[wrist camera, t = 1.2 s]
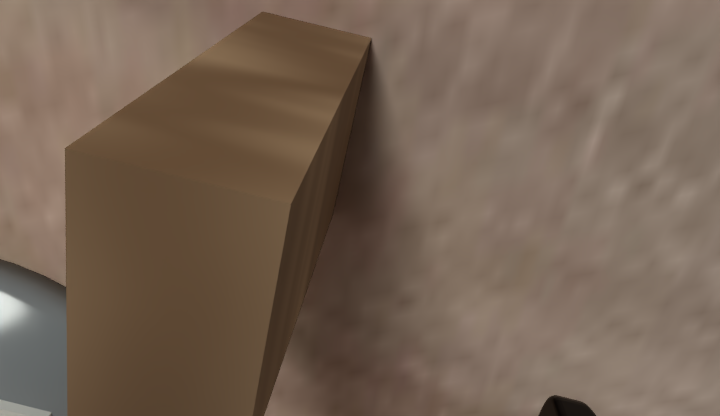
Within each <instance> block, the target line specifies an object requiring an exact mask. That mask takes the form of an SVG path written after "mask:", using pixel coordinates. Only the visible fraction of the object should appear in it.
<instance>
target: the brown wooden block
mask: <svg viewBox="0 0 720 416" xmlns="http://www.w3.org/2000/svg"><path fill="white" fill-rule="evenodd" d="M370 42H371V38H369V37H365V36H360V35H356V34H352V33H348V32H344V31H340V30H336V29H332V28H328V27H323V26H319V25H315V24H311V23H307V22H303V21H299V20H295V19H291V18H286V17H282V16H278V15H274V14H270V13H266V12H261V13H260V14H259V15H257V16H256V17H254V18H253V19H251V20H250V21H248V22H247V23H246V24H244V25H243V26H241V27H240V28H238V29H237V30H235V31H234V32H232V33H231V34H230V35H228V36H227V37H225V38H224V39H222V40H221V41H219V42H218V43H217V44H215V45H214V46H212V47H211V48H209V49H208V50H206V51H205V52H204V53H202V54H201V55H199V56H198V57H196V58H195V59H193V60H192V61H191V62H189V63H188V64H186V65H185V66H183V67H182V68H180V69H179V70H178V71H176V72H175V73H173V74H172V75H170V76H169V77H167V78H166V79H165V80H163V81H162V82H160V83H159V84H157V85H156V86H154V87H153V88H151V89H150V90H149V91H147V92H146V93H144V94H143V95H141V96H140V97H138V98H137V99H136V100H134V101H133V102H131V103H130V104H128V105H127V106H125V107H124V108H123V109H121V110H120V111H118V112H117V113H115V114H114V115H112V116H111V117H110V118H108V119H107V120H105V121H104V122H102V123H101V124H99V125H98V126H97V127H95V128H94V129H92V130H91V131H89V132H88V133H86V134H85V135H84V136H82V137H81V138H79V139H78V140H76V141H75V142H73V143H72V144H71V145H69V146H68V147H66V148H65V198H66V317H67V416H264V414H265V411H266V408H267V405H268V402H269V399H270V396H271V393H272V390H273V388H274V385H275V382H276V379H277V376H278V373H279V370H280V367H281V364H282V361H283V358H284V355H285V352H286V350H287V347H288V344H289V341H290V338H291V335H292V332H293V329H294V326H295V323H296V320H297V317H298V315H299V312H300V309H301V306H302V303H303V300H304V297H305V294H306V291H307V288H308V285H309V282H310V279H311V277H312V274H313V271H314V268H315V265H316V262H317V259H318V256H319V253H320V250H321V247H322V244H323V242H324V239H325V236H326V233H327V230H328V227H329V224H330V221H331V218H332V215H333V211H334V207H335V202H336V197H337V193H338V188H339V184H340V179H341V175H342V170H343V165H344V161H345V156H346V152H347V147H348V143H349V138H350V134H351V129H352V124H353V120H354V115H355V111H356V106H357V102H358V97H359V92H360V88H361V83H362V79H363V74H364V70H365V65H366V60H367V56H368V51H369V47H370Z"/></svg>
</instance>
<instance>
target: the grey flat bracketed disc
mask: <svg viewBox="0 0 720 416" xmlns="http://www.w3.org/2000/svg"><path fill="white" fill-rule="evenodd" d="M0 416H67V317H66V287H64V286H62V285H60V284H59V283H57V282H55V281H53V280H51V279H49V278H47V277H45V276H43V275H40V274H38V273H36V272H33V271H31V270H28V269H26V268H23V267H21V266H19V265H16V264H14V263H11V262H7V261H4V260H1V259H0Z"/></svg>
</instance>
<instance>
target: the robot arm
mask: <svg viewBox="0 0 720 416" xmlns="http://www.w3.org/2000/svg"><path fill="white" fill-rule="evenodd" d="M539 416H596V415H595V413H594V412H593V411H592V410H591V409H590V408H589V407H588V406H587V405H586V404H585V403H583V402H581V401H577V400H573V399H569V398H565V397H561V396H557V395H554V396H551V397H549V398H548V399H547V400H546V402H545V403H544V405H543V407H542V410H541V412H540V414H539Z"/></svg>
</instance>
